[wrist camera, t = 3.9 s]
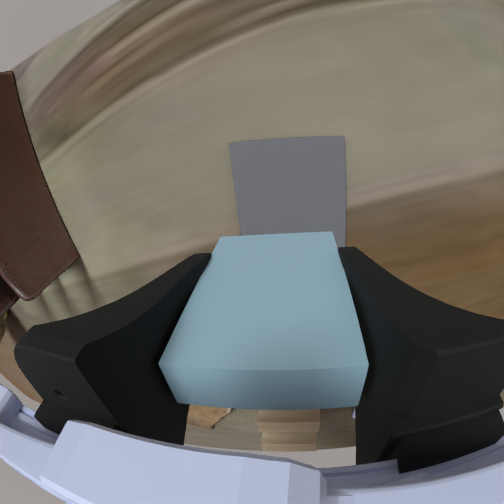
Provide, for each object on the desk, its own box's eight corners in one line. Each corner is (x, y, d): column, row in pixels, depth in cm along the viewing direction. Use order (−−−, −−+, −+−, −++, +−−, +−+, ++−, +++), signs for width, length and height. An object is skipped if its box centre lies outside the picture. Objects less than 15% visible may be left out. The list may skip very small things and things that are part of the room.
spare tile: (220, 236, 12) (158, 363, 6) (332, 231, 12) (368, 365, 5) (226, 269, 13) (177, 402, 7) (331, 265, 12) (358, 405, 6)
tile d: (268, 382, 27) (261, 443, 20) (315, 381, 26) (317, 443, 20) (269, 391, 27) (262, 450, 21) (314, 390, 27) (315, 450, 20)
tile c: (265, 355, 25) (256, 422, 19) (317, 354, 24) (320, 421, 18) (266, 367, 26) (258, 431, 19) (316, 366, 25) (319, 431, 19)
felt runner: (343, 136, 16) (344, 136, 16) (329, 401, 28) (329, 404, 28) (230, 142, 17) (229, 143, 17) (264, 402, 29) (264, 405, 29)
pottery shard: (156, 408, 34) (152, 418, 32) (180, 340, 26) (175, 353, 25) (210, 428, 34) (208, 439, 33) (256, 369, 27) (254, 383, 26)
